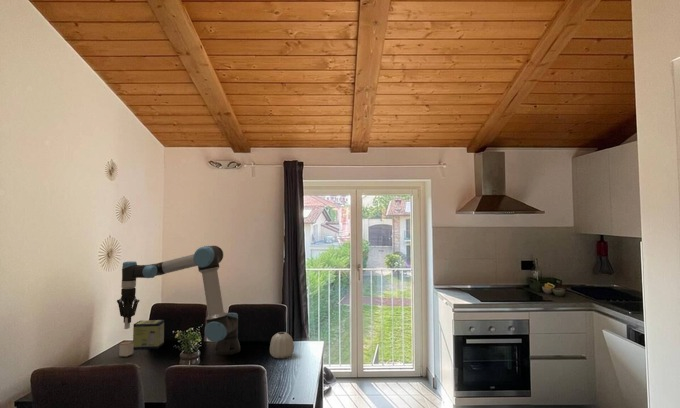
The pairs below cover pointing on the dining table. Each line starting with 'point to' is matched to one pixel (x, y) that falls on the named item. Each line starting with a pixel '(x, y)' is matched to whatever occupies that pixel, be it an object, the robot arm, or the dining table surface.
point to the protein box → (148, 334)
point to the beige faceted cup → (126, 348)
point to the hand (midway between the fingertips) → (127, 328)
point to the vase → (281, 345)
